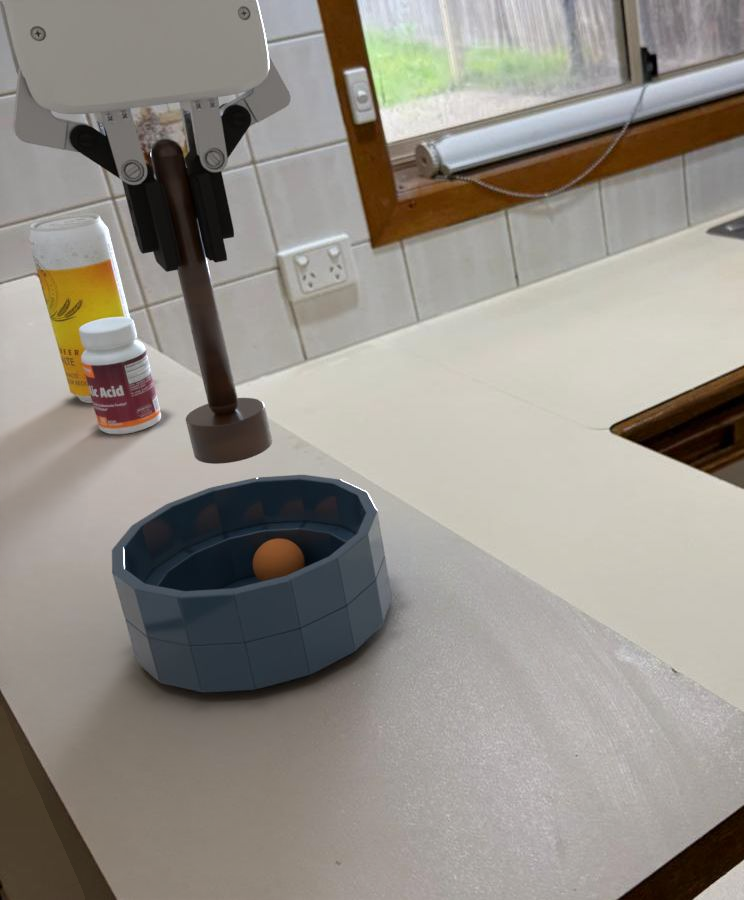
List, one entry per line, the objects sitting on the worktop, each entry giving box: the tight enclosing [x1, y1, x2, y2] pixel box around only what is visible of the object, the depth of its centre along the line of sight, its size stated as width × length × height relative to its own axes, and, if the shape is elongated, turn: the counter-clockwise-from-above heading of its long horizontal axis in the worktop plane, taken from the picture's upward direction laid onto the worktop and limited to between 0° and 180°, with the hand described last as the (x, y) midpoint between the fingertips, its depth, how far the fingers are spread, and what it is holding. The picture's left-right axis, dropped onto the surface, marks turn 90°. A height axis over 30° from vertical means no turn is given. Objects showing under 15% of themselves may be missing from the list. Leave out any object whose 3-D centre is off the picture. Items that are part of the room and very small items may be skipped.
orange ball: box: [253, 538, 305, 582], centre depth 64 cm, size 3×3×3 cm
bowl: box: [111, 474, 393, 693], centre depth 60 cm, size 13×13×6 cm
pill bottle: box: [79, 317, 162, 435], centre depth 90 cm, size 5×5×8 cm
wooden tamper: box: [149, 137, 273, 465], centre depth 54 cm, size 4×4×15 cm
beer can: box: [28, 213, 137, 404], centre depth 96 cm, size 6×6×15 cm
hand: (190, 258), depth 53 cm, fingers closed on wooden tamper, 1 cm apart
